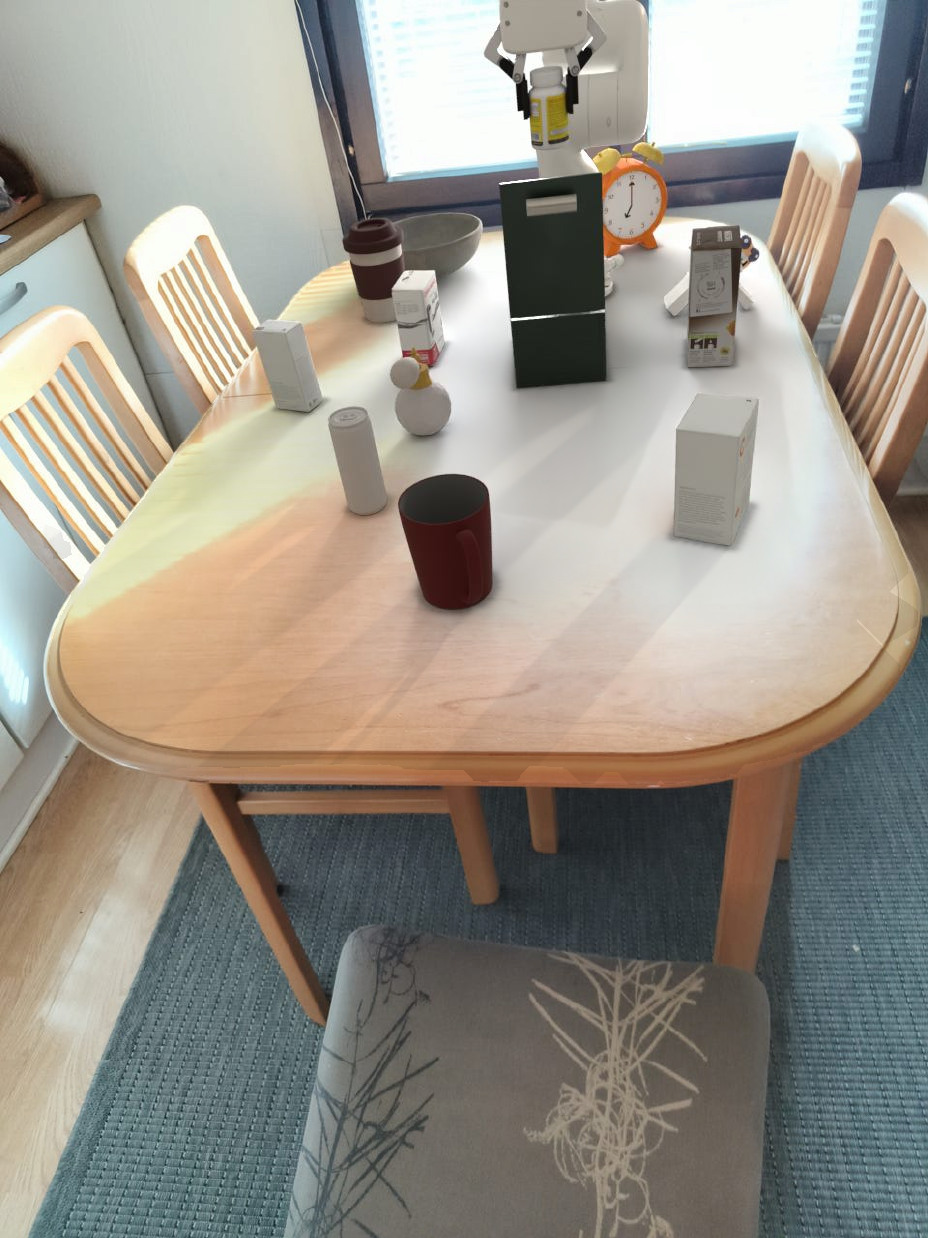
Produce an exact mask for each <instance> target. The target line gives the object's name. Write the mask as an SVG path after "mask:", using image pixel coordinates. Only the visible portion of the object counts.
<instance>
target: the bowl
mask: <svg viewBox="0 0 928 1238" xmlns="http://www.w3.org/2000/svg"><path fill="white" fill-rule="evenodd" d="M392 224H393V225H394V226H398V227H400V228H401V229H402V230H403V236H404V241H403V242H402V243H401V250H402V252H403V257H404V267H405V271H430V270H435V276H436V280H437V279H440V278H443V277H446V276H448V275H451V274H452V273H454V272H456V271H458V270H460V269H461V268H462V267H464V266H465V265H466V264H467V263H468V262H469V261H470V260H472V258H473V257H474V255H475V254H476V252H477V251H478V249H479V246H480V242H481V240H482V235H483V230H484V229H483V221H482V220H481V219H480V218H479V217H478V216H476V215H473V214H470V213H466V212H465V213H464V212H437V213H429V214H422V215H417V216H416V215H415V216H411V217H407V218H403V219H400V220H397V221H394V222H392Z"/></svg>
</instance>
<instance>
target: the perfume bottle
mask: <svg viewBox="0 0 928 1238" xmlns="http://www.w3.org/2000/svg"><path fill="white" fill-rule="evenodd" d="M411 353H412V355H411V357H404V358H403V357H401V358H399V359H398V360H396V361H395V362H394V363H393V365H392V366H391V368H390V371H389V378H390V381H391V383H392V385H393V386H395V388H397V389H399V391H398V392H397V394H396V397H395V400H394V412H395V416H396V419H397V421H398V423H399V424H400V425H401V427H402V428H403V429H404V430H406V431H407V432H408V433H411V434H413V435H416V436H431V435H434V434H436V433H438V432H440V431H441V430H443V428H445V426H446V425H447V424H448V422H449V419H450V417H451V413H452V401H451V397H450V394H449V392H448V391H447V389H446V387H445V386H443V385H442V384H441V383H440V382H439V381H437V380H435V379H432V378H431V376H430V372H429V366H428V365H426V364H423V363H419V360H420V356H419V354H417V351H416V349H415V347H412V351H411Z"/></svg>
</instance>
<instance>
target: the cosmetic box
mask: <svg viewBox="0 0 928 1238" xmlns="http://www.w3.org/2000/svg"><path fill="white" fill-rule="evenodd" d="M251 334H252V337H253V340H254V343H255V346H256V349H257V352H258V355H259V358H260V361H261V364H262V368H263V370H264V374H265V377H266V380H267V383H268V385H269V389H270V392H271V395H272V399H273V402H274V405H275V408H276V409H280V410H287V411H297V412H303V413H309V412H311V411H313V410H314V409H315V408H316V407H318V406H319V404H321V403H322V402H323V400H324V397H323V393H322V390H321V387H320V381H319V379H318V375H317V372H316V368H315V364H314V361H313V357H312V354H311V349H310V347H309V346H310V345H309V343H308V339H307V337H306V333H305V329H304V325H303V322H302V321H295V320H282V319H269V318H268V319H266V320H265V321H263V322H262V323H260V324H259V325H258V326H256V328H254V329H253V330H252V331H251Z"/></svg>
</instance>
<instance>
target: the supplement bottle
mask: <svg viewBox="0 0 928 1238" xmlns="http://www.w3.org/2000/svg"><path fill="white" fill-rule="evenodd" d="M562 81H563V70H562V67H560V66H547V67H544V66H542V67H537V68H534V69H532V70H530V71H529V85H530V86H531V88H530V89H528V102H529V130H530V131H529V132H530V142H531V143H530V144H531V148H533V150H535V151H536V150H553V149H558V148H562V147H564V146H566V145H567V144H568V142H569V128H568V110H567V89H566V87H565V86H564V85H563V84H562V83H561V82H562Z"/></svg>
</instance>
